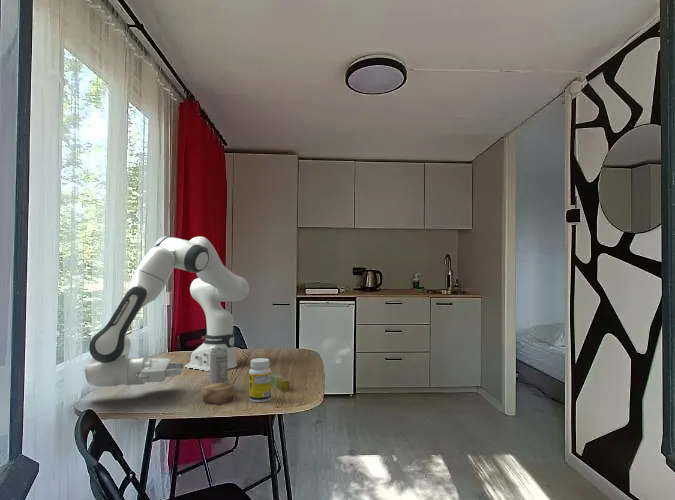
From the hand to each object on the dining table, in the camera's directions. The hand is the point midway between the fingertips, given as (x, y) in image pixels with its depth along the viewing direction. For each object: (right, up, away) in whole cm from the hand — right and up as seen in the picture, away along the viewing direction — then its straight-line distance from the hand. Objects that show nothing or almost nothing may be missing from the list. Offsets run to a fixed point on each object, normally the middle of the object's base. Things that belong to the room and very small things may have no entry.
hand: (182, 368), depth 162 cm
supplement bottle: (+28, -8, -8) cm, 30 cm away
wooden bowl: (+14, -8, -7) cm, 18 cm away
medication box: (+33, -9, +6) cm, 34 cm away
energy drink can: (+12, -9, +3) cm, 15 cm away
